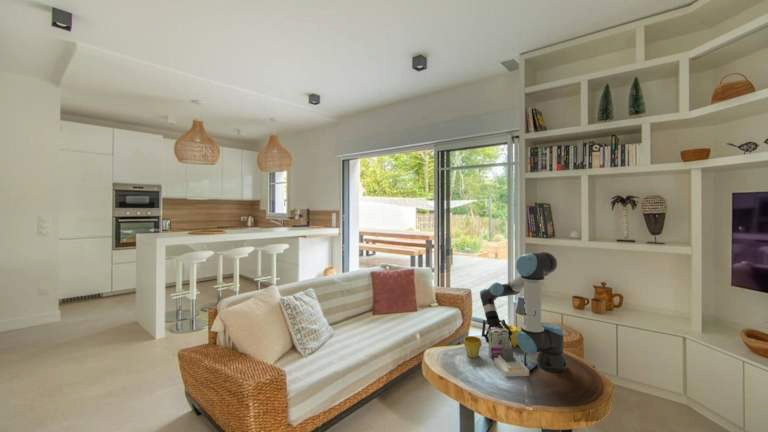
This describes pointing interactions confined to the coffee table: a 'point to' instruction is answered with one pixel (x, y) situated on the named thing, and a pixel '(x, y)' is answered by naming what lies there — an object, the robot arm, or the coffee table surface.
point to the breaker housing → (511, 367)
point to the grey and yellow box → (513, 336)
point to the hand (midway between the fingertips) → (500, 347)
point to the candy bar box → (498, 341)
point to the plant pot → (472, 346)
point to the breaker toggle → (508, 354)
